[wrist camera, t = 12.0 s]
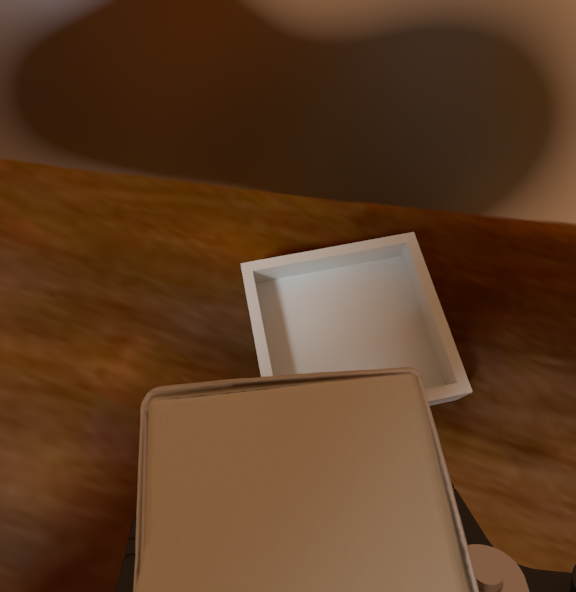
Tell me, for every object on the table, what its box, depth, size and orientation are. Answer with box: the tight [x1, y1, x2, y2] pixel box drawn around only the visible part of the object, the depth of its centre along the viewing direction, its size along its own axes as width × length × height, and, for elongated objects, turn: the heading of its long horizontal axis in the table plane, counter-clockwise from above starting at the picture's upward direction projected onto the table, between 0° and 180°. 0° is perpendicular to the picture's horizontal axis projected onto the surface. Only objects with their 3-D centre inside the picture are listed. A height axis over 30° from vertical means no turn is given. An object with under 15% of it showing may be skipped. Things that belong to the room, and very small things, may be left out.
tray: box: [240, 232, 473, 406], centre depth 33 cm, size 13×14×3 cm
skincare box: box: [133, 367, 479, 592], centre depth 11 cm, size 6×4×12 cm
